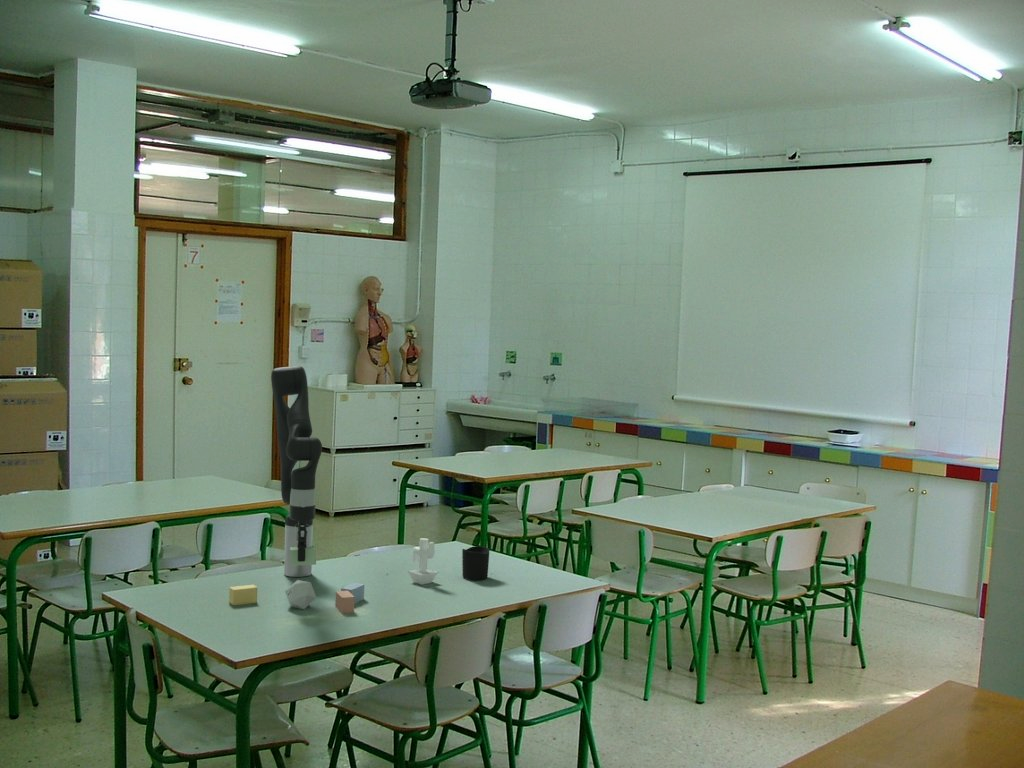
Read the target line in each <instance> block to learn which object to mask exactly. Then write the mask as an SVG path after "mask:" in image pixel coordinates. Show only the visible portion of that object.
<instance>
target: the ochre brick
mask: <svg viewBox="0 0 1024 768" xmlns="http://www.w3.org/2000/svg"><path fill="white" fill-rule="evenodd" d="M228 590H229V591H228V594H229V595H228V603H229V604H231V605H232V606H237V605H240V606H241V605H247V604H255V603H258V586H256V585H255V584H246V585H236V586H229V589H228Z"/></svg>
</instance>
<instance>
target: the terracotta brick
mask: <svg viewBox="0 0 1024 768" xmlns="http://www.w3.org/2000/svg"><path fill="white" fill-rule="evenodd" d="M334 601H335V603H334V607H335V608H336V609H337V610H338V611H339V612H340V613H341V614H350V613H355V603H354V596H353V595H352V594H351V593H350V592H349V591H341V590H338V591H335V600H334Z"/></svg>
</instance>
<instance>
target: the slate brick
mask: <svg viewBox="0 0 1024 768" xmlns="http://www.w3.org/2000/svg"><path fill="white" fill-rule="evenodd" d="M340 591H349V592H350V593H351V594H352V595H353V596H354V604H356V603H359V602H361V601H364V600H365V584H363V583H357V582H356V583H355V582H353V583H350V584H348V585H345V586H343V587H341V588H340Z"/></svg>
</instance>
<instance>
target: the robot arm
mask: <svg viewBox="0 0 1024 768" xmlns="http://www.w3.org/2000/svg"><path fill="white" fill-rule="evenodd" d="M270 377H271V378H270V379H271V380H270V381H271V388H272V394H273V402H274V407H275V417H276V418H275V419H276V433H277V436H276V437H277V444H278V453H279V463H280V488H281V489H280V491H281V492H280V493H281V494H280V495H281V499H282V502H283V503H284V504H286V505H289V514H288V515H286V516H285V523H284V528H285V529H284V562H283V563H284V564H283V565H284V566H283V575H284V576H286V577H291V578H294V577H295V578H304V577H308V576H311V575H312V568H313V566H312V565H296V566H291V558H290V547H297V548H298V561H299V562H303V561H305V549H306V547H307V546H313V533H314V532H313V530H314V526H313V525H314V519H315V518H316V473H317V468H318V464H319V462H320V458H321V455H322V452H323V445H322V444H323V443H322V442H321V440H320V439H319V438H318V437H315V436H312V434H313V427H312V422H311V417H310V411H309V409H310V408H309V405H310V404H309V403H310V402H309V388H308V378H307V373H306V371H305V368H304V367H303V366H301V365H292V366H284V367H282V366H281V367H276V368H273V369H272V370H271V376H270ZM295 395H297V396H296V399H295V400H294V402H293V403H292V404H291V406H290V407H289V404H287V402H286V400H285V396H287V397H289V396H295ZM299 461H301V462H302V461H303V462H305V461H308V462H307V463H306V464H305V466H301V467H298V468H295V465H297V463H298V462H299ZM294 468H295V469H294Z"/></svg>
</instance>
